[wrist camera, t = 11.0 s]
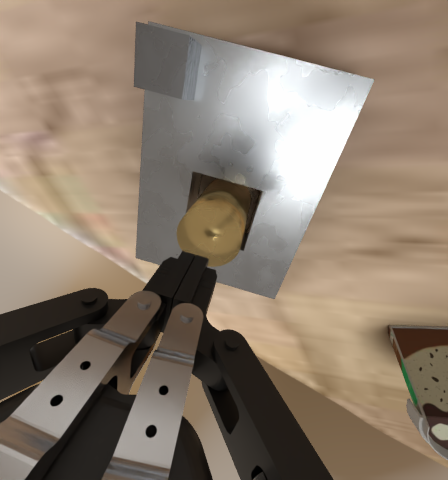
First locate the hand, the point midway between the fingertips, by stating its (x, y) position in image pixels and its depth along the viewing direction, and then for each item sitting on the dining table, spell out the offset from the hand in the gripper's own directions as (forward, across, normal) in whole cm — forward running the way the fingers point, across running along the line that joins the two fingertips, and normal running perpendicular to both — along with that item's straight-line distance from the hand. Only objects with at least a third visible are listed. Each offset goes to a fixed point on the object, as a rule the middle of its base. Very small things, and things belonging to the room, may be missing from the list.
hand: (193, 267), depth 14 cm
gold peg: (+11, 0, 0) cm, 11 cm away
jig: (+11, 0, -2) cm, 11 cm away
